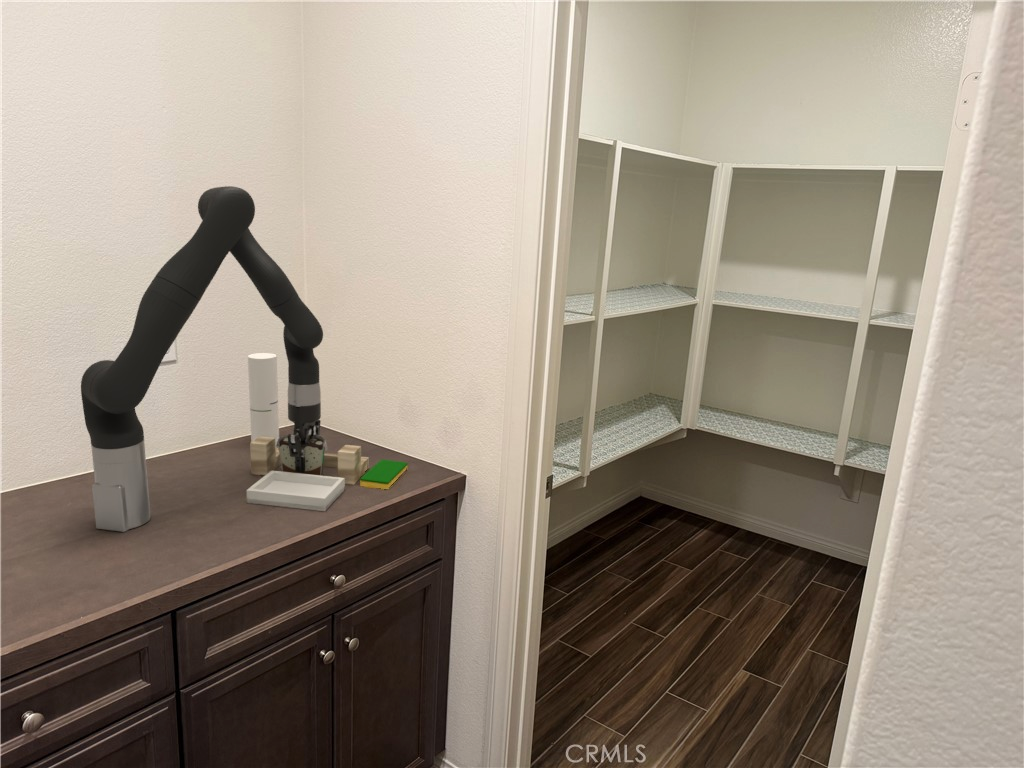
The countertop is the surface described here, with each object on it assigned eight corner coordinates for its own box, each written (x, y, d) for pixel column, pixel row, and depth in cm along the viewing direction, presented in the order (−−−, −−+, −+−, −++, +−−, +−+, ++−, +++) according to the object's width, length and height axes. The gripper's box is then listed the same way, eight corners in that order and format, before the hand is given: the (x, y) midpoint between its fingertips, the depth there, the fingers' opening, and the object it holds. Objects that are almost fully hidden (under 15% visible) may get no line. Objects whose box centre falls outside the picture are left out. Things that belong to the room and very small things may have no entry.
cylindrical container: (285, 445, 190) (282, 355, 184) (263, 452, 184) (259, 360, 178) (267, 439, 194) (264, 351, 187) (245, 446, 188) (241, 355, 182)
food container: (335, 473, 173) (334, 435, 170) (326, 482, 167) (325, 443, 165) (287, 468, 174) (286, 430, 172) (277, 477, 168) (275, 438, 166)
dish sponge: (407, 471, 178) (408, 462, 177) (387, 491, 165) (387, 482, 164) (381, 467, 179) (381, 458, 179) (359, 487, 166) (359, 478, 166)
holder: (354, 484, 167) (353, 453, 165) (251, 473, 170) (250, 443, 168) (368, 468, 177) (368, 438, 175) (271, 458, 180) (270, 429, 178)
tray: (324, 511, 152) (324, 498, 151) (247, 502, 154) (246, 490, 153) (344, 489, 163) (344, 477, 163) (272, 482, 165) (271, 470, 165)
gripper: (301, 391, 173) (302, 455, 177) (275, 406, 159) (277, 476, 163) (330, 394, 172) (331, 458, 176) (306, 409, 158) (307, 479, 162)
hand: (305, 466), depth 169 cm, fingers closed on food container, 5 cm apart
